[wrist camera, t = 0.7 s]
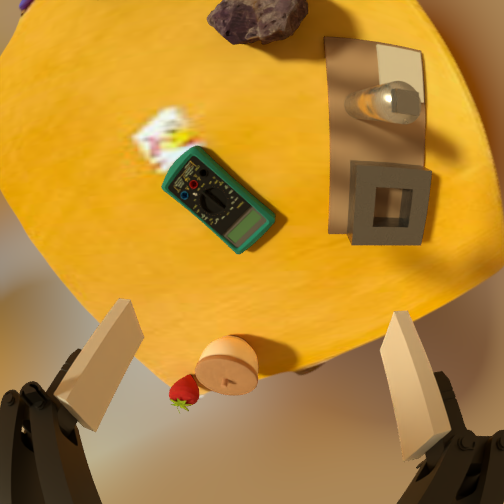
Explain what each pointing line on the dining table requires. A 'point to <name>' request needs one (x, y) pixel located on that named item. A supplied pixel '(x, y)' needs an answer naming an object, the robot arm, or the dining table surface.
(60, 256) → the dining table surface
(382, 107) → the silver metal post
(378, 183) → the block
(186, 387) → the strawberry
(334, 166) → the board
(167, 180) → the digital multimeter
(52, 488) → the robot arm
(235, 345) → the lidded jar
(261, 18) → the rock
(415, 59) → the pad
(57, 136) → the dining table surface
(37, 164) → the dining table surface
